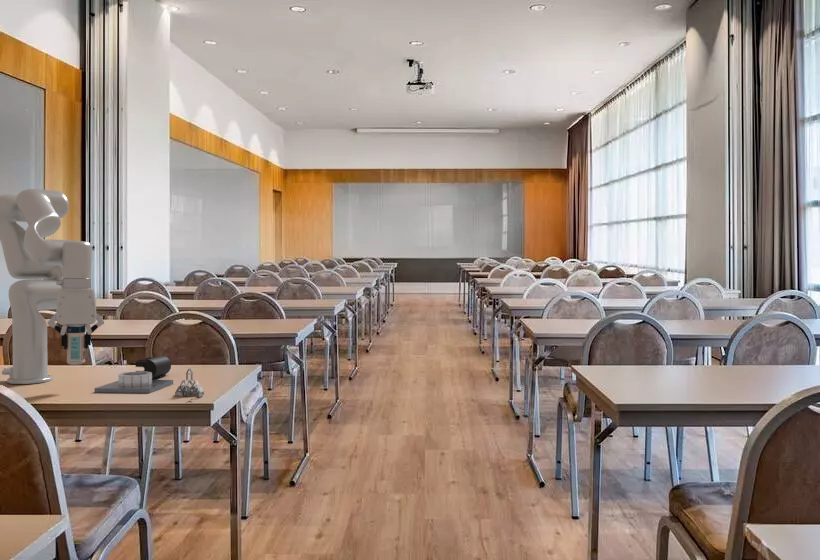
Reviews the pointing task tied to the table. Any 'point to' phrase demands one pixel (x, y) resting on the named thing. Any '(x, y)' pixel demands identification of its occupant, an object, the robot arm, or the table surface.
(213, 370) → the table surface
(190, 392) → the house of cards
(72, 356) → the beer can
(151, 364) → the end cap
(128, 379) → the grey square plate
